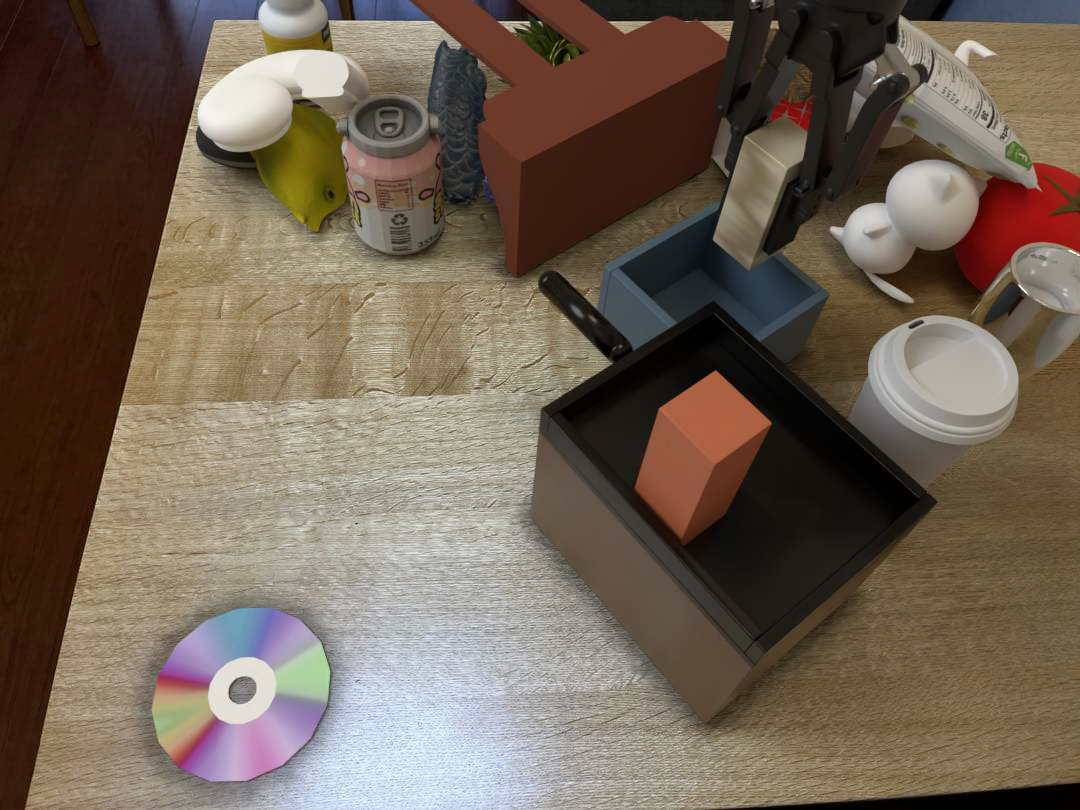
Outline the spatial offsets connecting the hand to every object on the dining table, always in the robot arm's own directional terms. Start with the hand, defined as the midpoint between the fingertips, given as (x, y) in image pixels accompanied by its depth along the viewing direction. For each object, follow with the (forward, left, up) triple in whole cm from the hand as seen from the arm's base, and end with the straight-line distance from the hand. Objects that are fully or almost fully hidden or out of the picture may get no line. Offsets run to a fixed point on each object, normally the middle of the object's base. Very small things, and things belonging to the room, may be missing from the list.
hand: (755, 225), depth 66 cm
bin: (0, +3, -12) cm, 12 cm away
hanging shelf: (+14, -1, -5) cm, 15 cm away
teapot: (+6, -29, -9) cm, 31 cm away
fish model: (+33, +5, -12) cm, 35 cm away
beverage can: (+26, +16, -12) cm, 33 cm away
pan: (-10, +17, -12) cm, 23 cm away
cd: (-3, +47, -11) cm, 49 cm away
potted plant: (+26, -5, -12) cm, 29 cm away
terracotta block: (-14, +22, +1) cm, 26 cm away
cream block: (0, 0, -2) cm, 2 cm away
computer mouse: (+42, +21, -8) cm, 48 cm away
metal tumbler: (-18, -11, -12) cm, 24 cm away
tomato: (-11, -25, -12) cm, 30 cm away
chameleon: (+10, -28, -1) cm, 30 cm away
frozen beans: (+15, -17, +6) cm, 23 cm away
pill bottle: (+47, +13, -12) cm, 50 cm away
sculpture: (+35, +20, -4) cm, 41 cm away
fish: (+36, +25, -7) cm, 44 cm away
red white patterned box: (+11, -17, -12) cm, 24 cm away
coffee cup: (-18, +1, -12) cm, 22 cm away
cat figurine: (-3, -15, -12) cm, 19 cm away
